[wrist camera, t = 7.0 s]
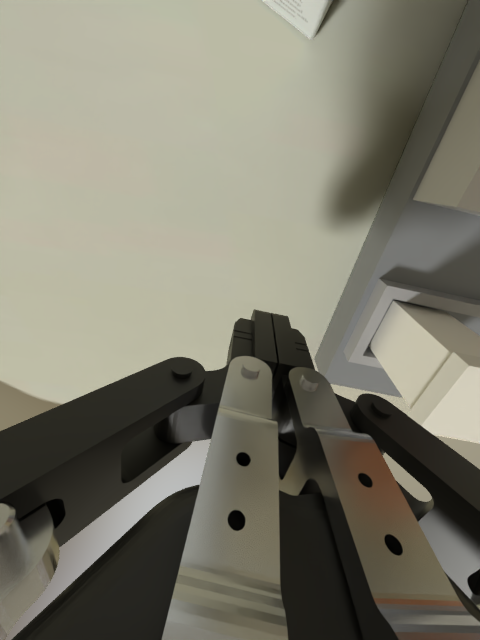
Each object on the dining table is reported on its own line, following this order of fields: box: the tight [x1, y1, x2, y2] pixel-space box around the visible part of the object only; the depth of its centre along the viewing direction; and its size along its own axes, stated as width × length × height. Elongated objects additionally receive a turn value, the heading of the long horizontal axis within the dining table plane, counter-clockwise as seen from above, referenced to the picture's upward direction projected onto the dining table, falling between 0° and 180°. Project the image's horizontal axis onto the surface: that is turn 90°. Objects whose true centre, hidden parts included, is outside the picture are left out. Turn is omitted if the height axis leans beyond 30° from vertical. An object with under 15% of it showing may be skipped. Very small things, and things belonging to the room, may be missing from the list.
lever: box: [369, 300, 480, 443], centre depth 12 cm, size 3×3×6 cm
